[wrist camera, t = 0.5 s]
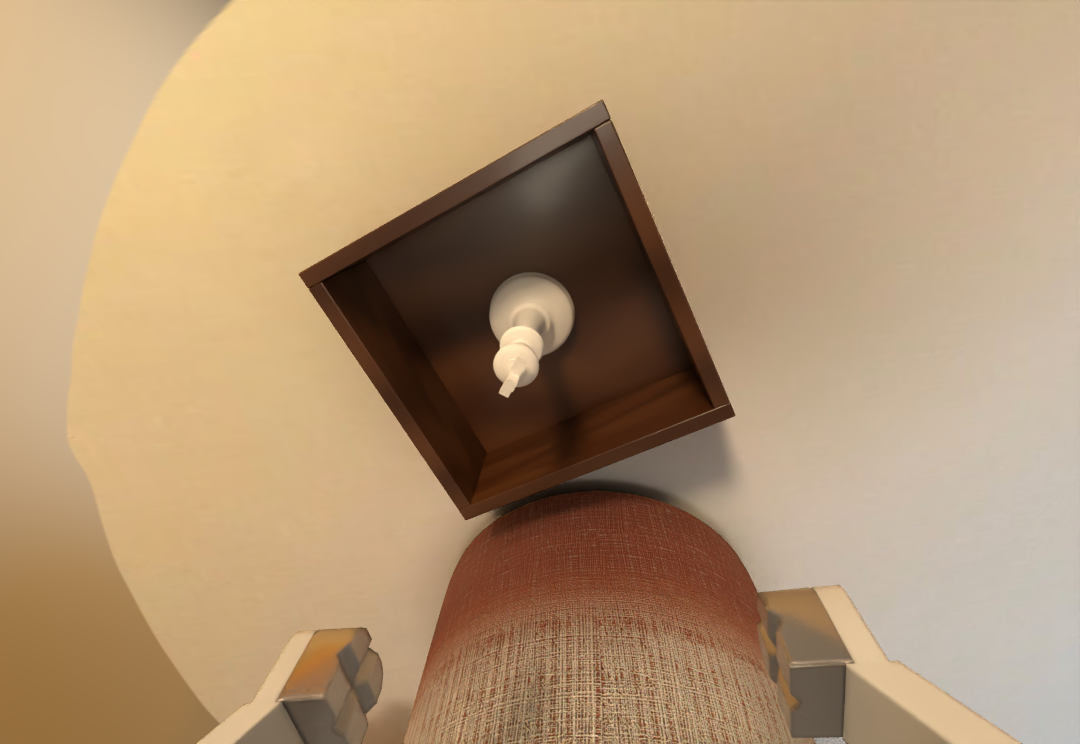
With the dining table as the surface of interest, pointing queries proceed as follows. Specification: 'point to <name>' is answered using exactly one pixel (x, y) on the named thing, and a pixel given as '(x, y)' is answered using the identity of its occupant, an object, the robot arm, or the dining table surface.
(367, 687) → the robot arm
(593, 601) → the planter
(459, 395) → the crate
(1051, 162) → the dining table surface
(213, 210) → the dining table surface
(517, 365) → the chess piece
